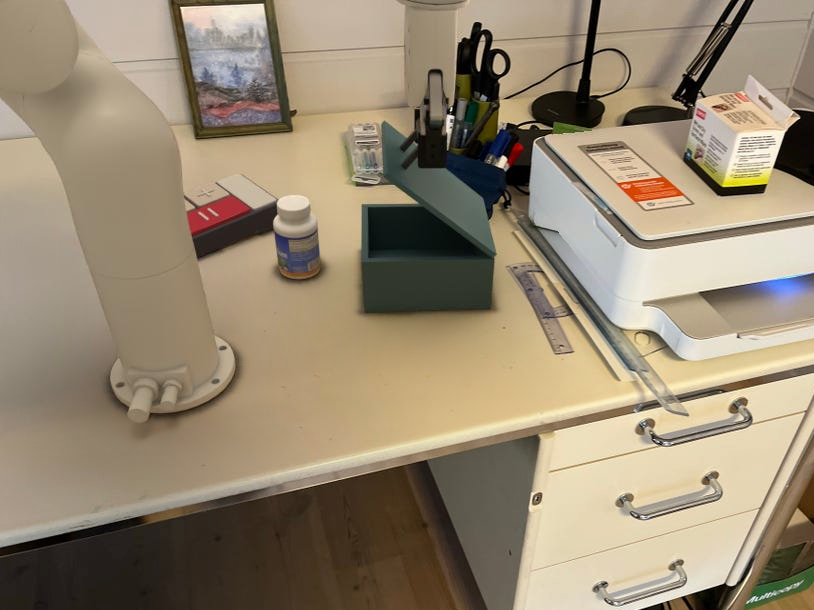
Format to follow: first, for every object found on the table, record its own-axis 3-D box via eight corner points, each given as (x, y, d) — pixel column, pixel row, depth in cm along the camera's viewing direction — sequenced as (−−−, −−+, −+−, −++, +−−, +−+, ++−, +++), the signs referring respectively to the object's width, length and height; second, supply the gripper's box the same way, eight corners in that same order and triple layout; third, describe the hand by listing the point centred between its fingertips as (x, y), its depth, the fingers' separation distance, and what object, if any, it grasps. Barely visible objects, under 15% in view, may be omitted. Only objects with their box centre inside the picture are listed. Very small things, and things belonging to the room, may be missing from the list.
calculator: (140, 204, 101) (239, 167, 109) (149, 231, 104) (245, 194, 111) (180, 238, 95) (281, 196, 103) (188, 266, 98) (286, 223, 106)
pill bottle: (275, 261, 99) (265, 194, 92) (316, 254, 100) (309, 188, 94) (284, 284, 95) (274, 216, 89) (326, 276, 97) (320, 209, 90)
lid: (383, 177, 80) (416, 139, 78) (380, 124, 90) (410, 89, 88) (492, 258, 88) (525, 226, 86) (479, 201, 99) (508, 172, 96)
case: (364, 312, 91) (361, 261, 87) (364, 252, 102) (361, 203, 97) (490, 309, 93) (494, 259, 89) (478, 250, 104) (481, 202, 99)
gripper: (392, -39, 81) (394, 124, 92) (398, 8, 68) (400, 190, 79) (461, -36, 82) (454, 124, 93) (481, 10, 69) (470, 190, 80)
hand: (429, 153), depth 86 cm, fingers closed on lid, 5 cm apart
